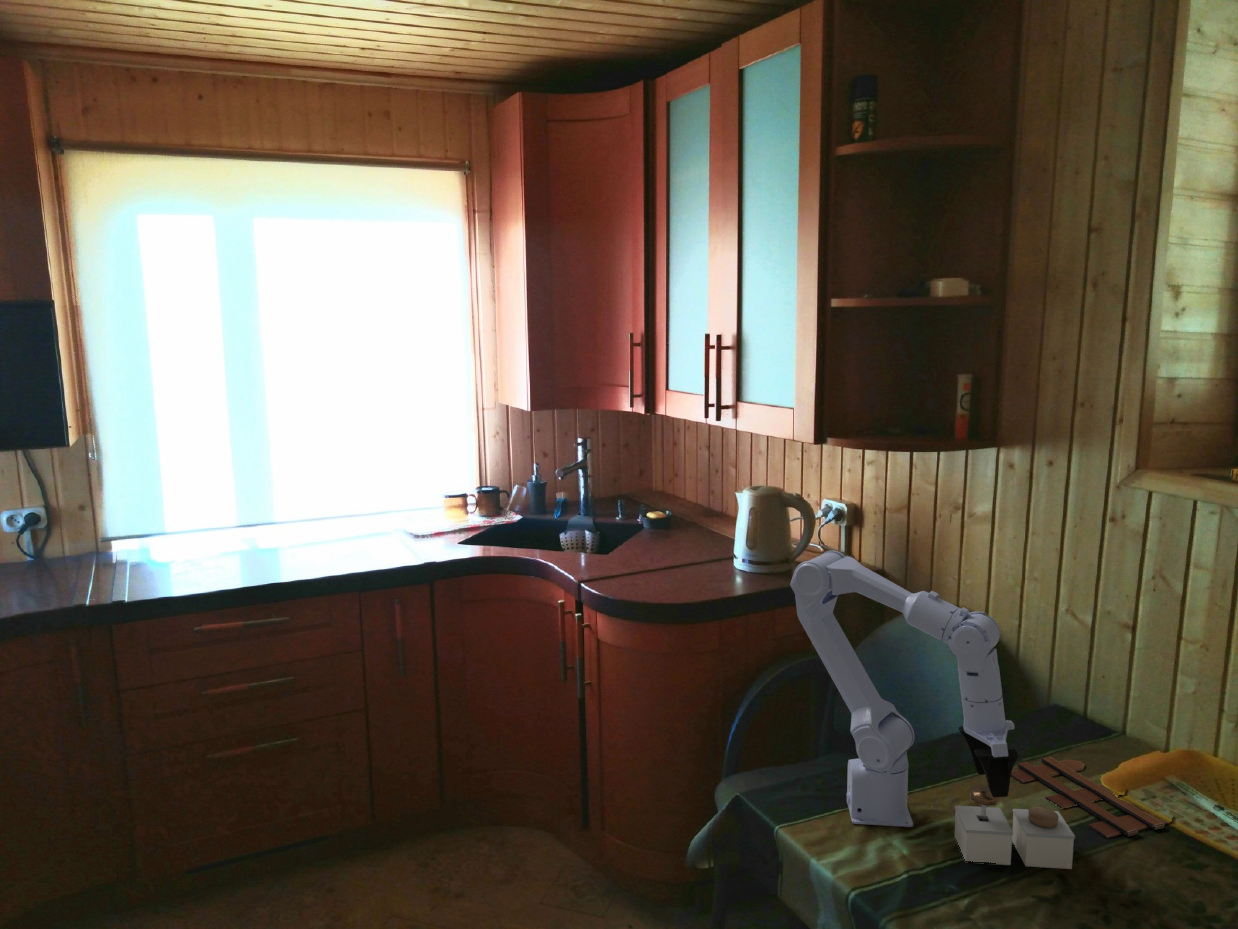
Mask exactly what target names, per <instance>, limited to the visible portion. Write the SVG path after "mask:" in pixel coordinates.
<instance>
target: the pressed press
mask: <svg viewBox="0 0 1238 929" xmlns="http://www.w3.org/2000/svg"><path fill="white" fill-rule="evenodd" d="M1012 813H1013V815H1012V831H1013V836H1012V844H1013V843H1014V844H1013V846H1014V845H1015V846H1014V847H1015V849H1016V851H1017V853H1018V854H1019V857H1020V858H1021V860H1022V862H1023V864H1024V866H1025V867H1033V868H1034V867H1035V868H1047V869H1049V868H1050V869H1066V870H1072V869H1073V860H1074V859H1073V856H1074V840H1076V835H1075V833H1074V832H1073V831H1072V830H1071V828H1070V827H1069V825H1068V823H1067V822H1066V821H1065V819H1064V817H1063V815H1061V813H1060V811H1059V810H1052V809H1050V808H1049V807H1048V808H1047V807H1044V806H1032V807H1030V808H1029V809H1026V808H1025V809H1024V808H1012Z"/></svg>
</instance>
